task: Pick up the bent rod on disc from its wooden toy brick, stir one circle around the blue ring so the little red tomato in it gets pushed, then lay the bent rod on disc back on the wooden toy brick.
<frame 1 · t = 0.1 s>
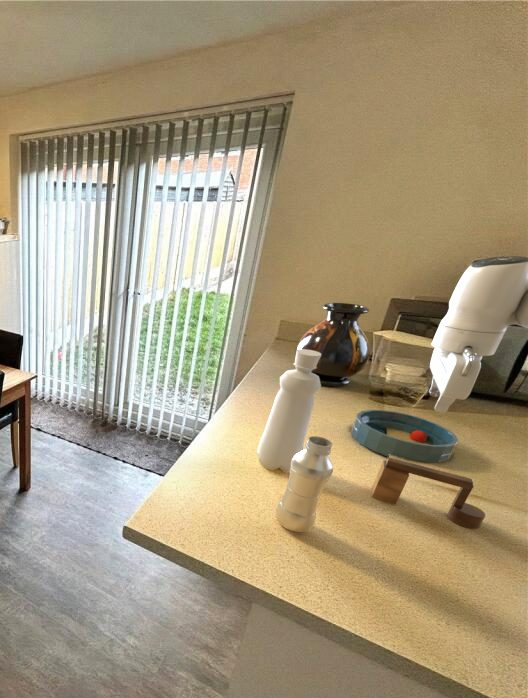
hand: (436, 402, 84), 21 cm above the countertop, tool pointing down, fingers open, 8 cm apart
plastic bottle: (291, 525, 80), on the countertop
wooden toy brick: (383, 496, 87), on the countertop
tomato: (418, 436, 105), point 2 cm above the countertop, touching blue ring
bent rod on disc: (462, 520, 80), on the countertop, touching wooden toy brick
bottle: (274, 465, 99), on the countertop
black vase: (322, 379, 148), on the countertop
blue ring: (396, 445, 106), on the countertop
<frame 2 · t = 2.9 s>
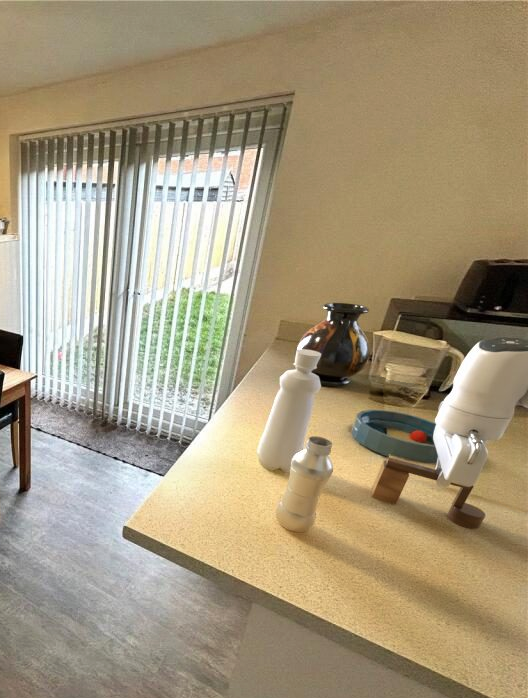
hand: (440, 480, 80), 8 cm above the countertop, tool pointing down, fingers closed on bent rod on disc
bent rod on disc: (462, 520, 80), on the countertop, touching gripper, wooden toy brick
everything else where it was.
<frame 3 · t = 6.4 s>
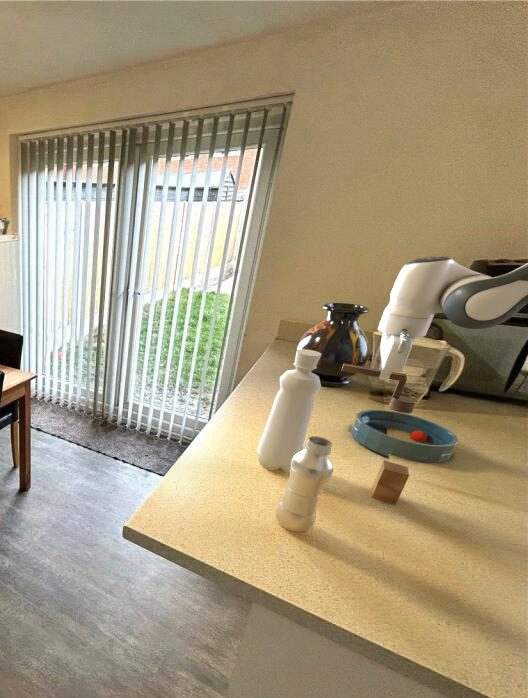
hand: (383, 377, 102), 19 cm above the countertop, tool pointing down, fingers closed on bent rod on disc
bent rod on disc: (400, 409, 101), point 11 cm above the countertop, touching gripper
everything else where it was.
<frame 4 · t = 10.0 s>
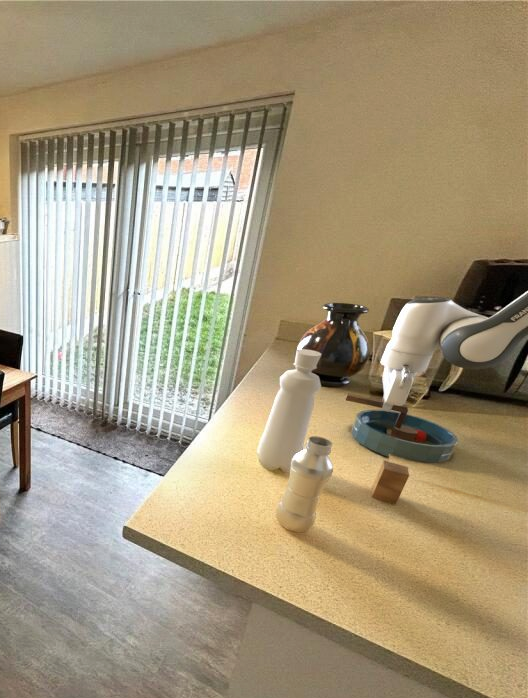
hand: (385, 407, 106), 9 cm above the countertop, tool pointing down, fingers closed on bent rod on disc
tomato: (418, 436, 106), point 2 cm above the countertop, tilted 18°, touching blue ring
bent rod on disc: (401, 438, 106), point 2 cm above the countertop, touching gripper
everything else where it was.
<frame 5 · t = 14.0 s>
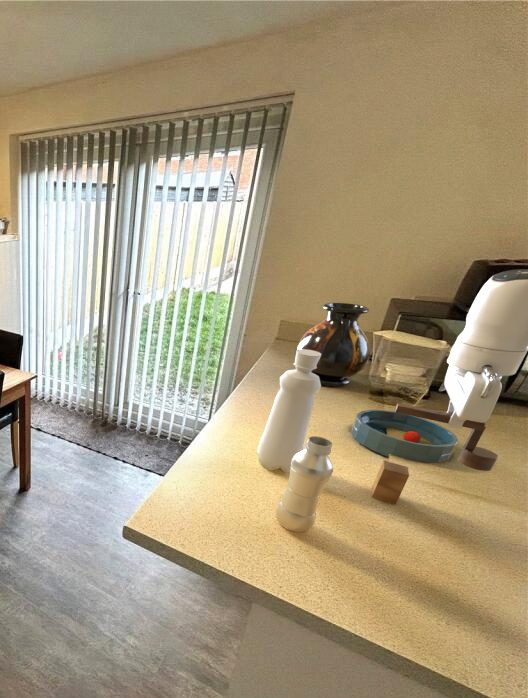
hand: (452, 423, 79), 19 cm above the countertop, tool pointing down, fingers closed on bent rod on disc
tomato: (411, 437, 105), point 2 cm above the countertop, tilted 71°, touching blue ring
bent rod on disc: (474, 464, 79), point 11 cm above the countertop, touching gripper
everything else where it was.
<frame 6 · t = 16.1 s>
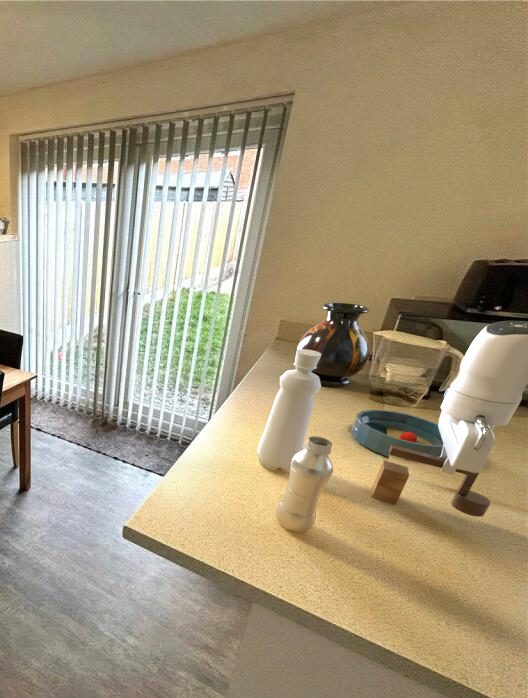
hand: (445, 467, 79), 11 cm above the countertop, tool pointing down, fingers closed on bent rod on disc
tomato: (408, 437, 105), point 2 cm above the countertop, tilted 115°, touching blue ring
bent rod on disc: (467, 508, 79), point 3 cm above the countertop, touching gripper
everything else where it was.
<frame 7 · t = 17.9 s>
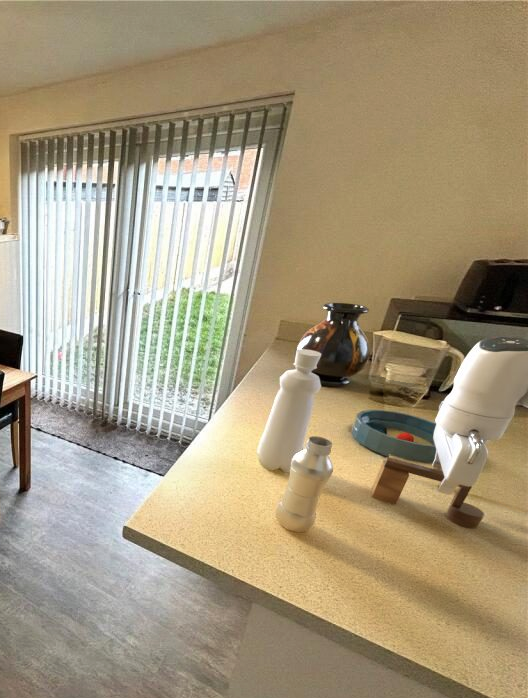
hand: (440, 480, 80), 8 cm above the countertop, tool pointing down, fingers open, 8 cm apart
tomato: (405, 438, 105), point 2 cm above the countertop, tilted 152°, touching blue ring
bent rod on disc: (461, 520, 80), on the countertop, touching wooden toy brick
everything else where it was.
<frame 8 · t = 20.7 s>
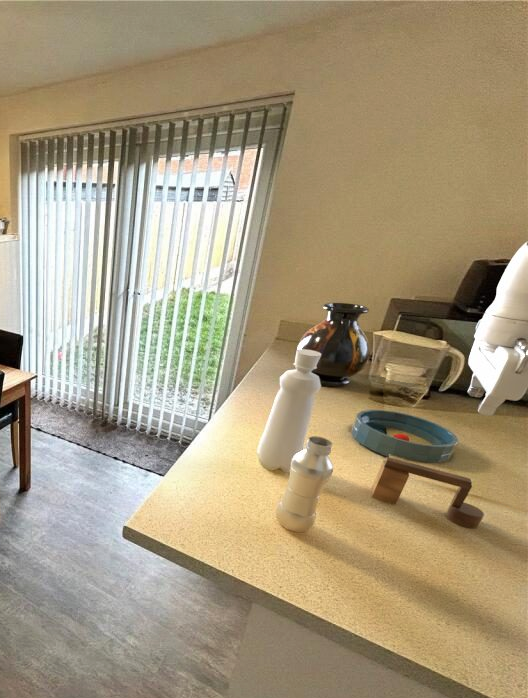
hand: (478, 404, 73), 25 cm above the countertop, tool pointing down, fingers open, 8 cm apart
tomato: (400, 439, 104), point 2 cm above the countertop, tilted 145°, touching blue ring
everything else where it was.
at the end: tomato moved 6.1 cm from its start; tomato inside the target area in the blue ring (0.8 cm from its centre), point 2.4 cm above the blue ring's base; bent rod on disc 0.4 cm from the target spot on the countertop beside the wooden toy brick, on the countertop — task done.
